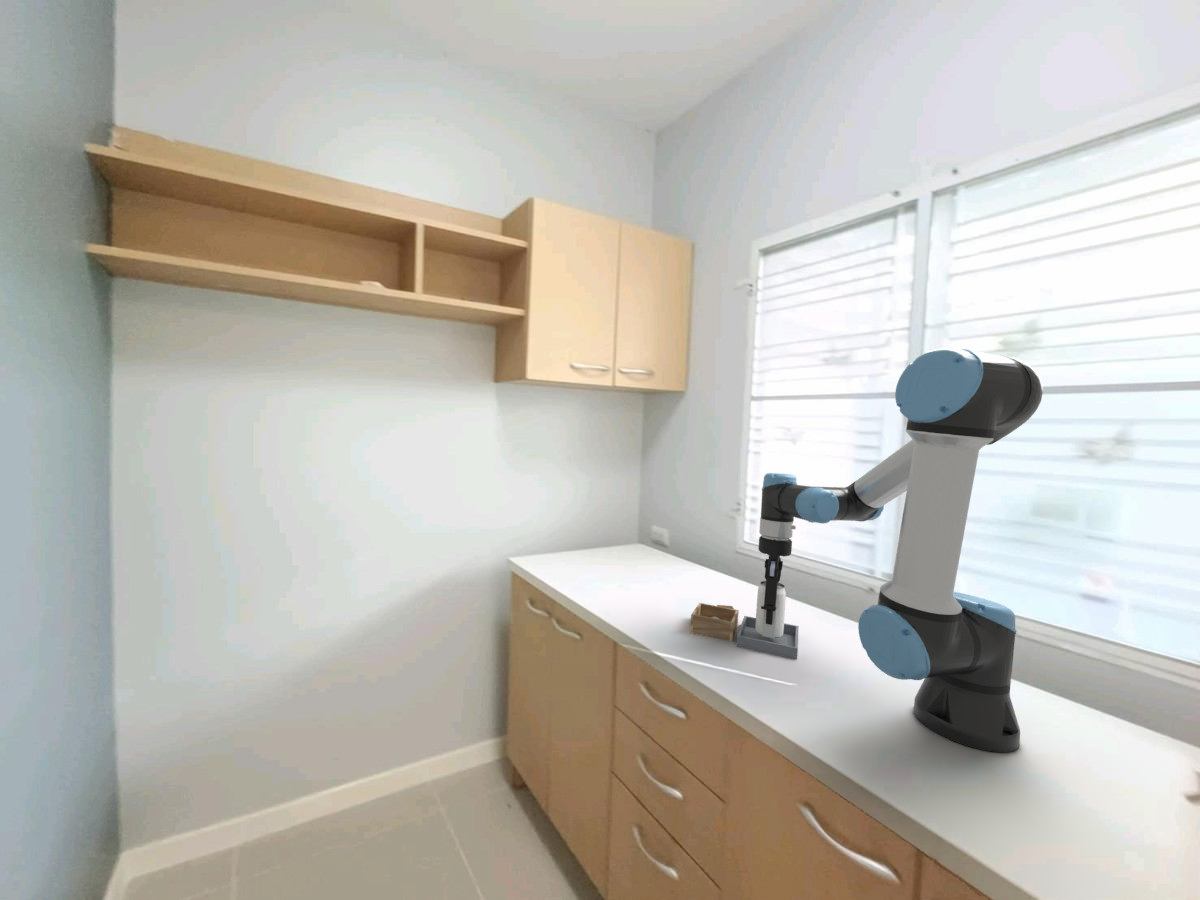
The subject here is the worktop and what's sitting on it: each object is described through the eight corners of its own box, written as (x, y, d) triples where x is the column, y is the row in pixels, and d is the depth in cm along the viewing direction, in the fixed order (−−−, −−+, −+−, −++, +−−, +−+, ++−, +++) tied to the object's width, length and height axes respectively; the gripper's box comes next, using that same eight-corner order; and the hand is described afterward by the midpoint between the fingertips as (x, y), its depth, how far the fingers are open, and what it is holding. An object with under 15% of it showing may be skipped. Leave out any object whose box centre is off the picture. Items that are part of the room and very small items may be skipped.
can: (787, 639, 116) (790, 589, 115) (759, 637, 116) (763, 587, 116) (777, 629, 122) (781, 581, 122) (751, 627, 122) (754, 579, 122)
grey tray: (796, 661, 110) (797, 648, 110) (736, 648, 115) (737, 636, 115) (797, 637, 124) (798, 626, 124) (743, 627, 129) (744, 615, 129)
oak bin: (731, 643, 117) (733, 622, 117) (689, 634, 121) (691, 614, 121) (737, 629, 127) (738, 610, 127) (698, 621, 131) (699, 602, 131)
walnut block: (734, 626, 129) (735, 611, 129) (719, 624, 130) (720, 609, 129) (731, 620, 133) (732, 605, 133) (716, 619, 134) (717, 604, 133)
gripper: (791, 546, 108) (783, 649, 109) (793, 533, 126) (786, 621, 126) (755, 541, 111) (748, 642, 112) (762, 529, 129) (756, 616, 129)
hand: (769, 631), depth 119 cm, fingers closed on can, 6 cm apart
